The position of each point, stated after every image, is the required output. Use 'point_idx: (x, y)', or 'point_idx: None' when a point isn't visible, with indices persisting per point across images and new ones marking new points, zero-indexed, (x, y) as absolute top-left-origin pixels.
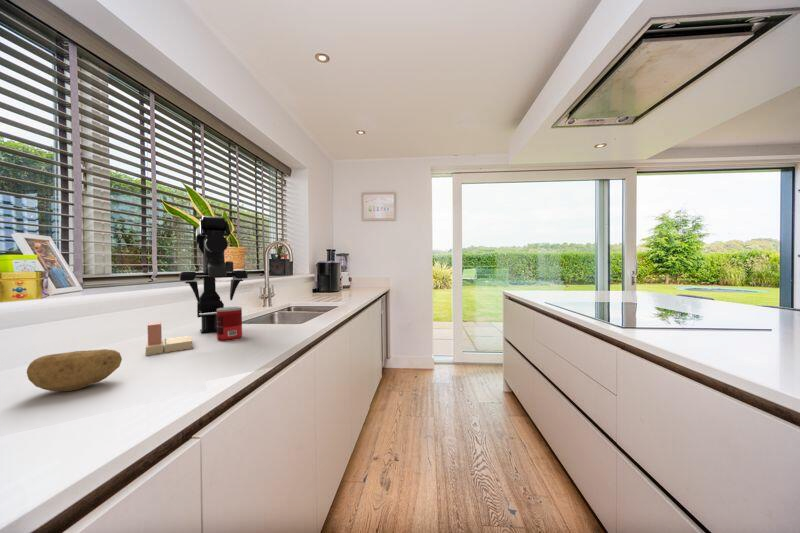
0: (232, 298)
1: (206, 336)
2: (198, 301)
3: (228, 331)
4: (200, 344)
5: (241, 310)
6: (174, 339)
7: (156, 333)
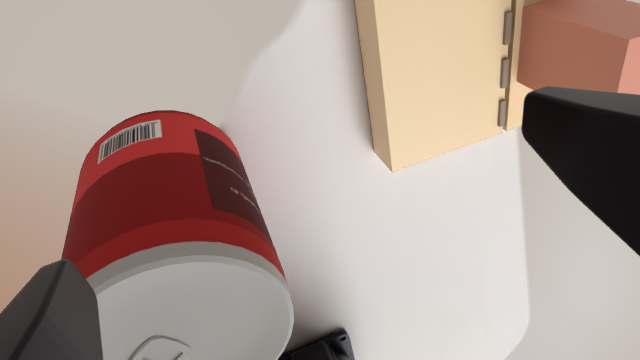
0: (26, 287)
1: (314, 267)
2: (552, 91)
3: (156, 136)
4: (319, 78)
5: None
6: (463, 93)
7: (596, 15)
